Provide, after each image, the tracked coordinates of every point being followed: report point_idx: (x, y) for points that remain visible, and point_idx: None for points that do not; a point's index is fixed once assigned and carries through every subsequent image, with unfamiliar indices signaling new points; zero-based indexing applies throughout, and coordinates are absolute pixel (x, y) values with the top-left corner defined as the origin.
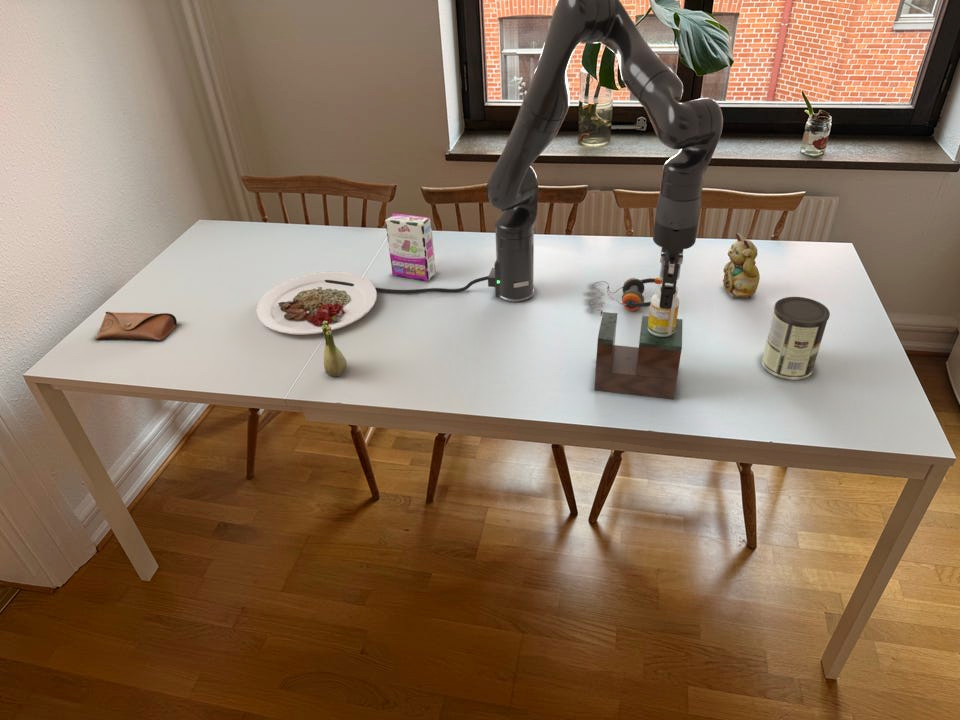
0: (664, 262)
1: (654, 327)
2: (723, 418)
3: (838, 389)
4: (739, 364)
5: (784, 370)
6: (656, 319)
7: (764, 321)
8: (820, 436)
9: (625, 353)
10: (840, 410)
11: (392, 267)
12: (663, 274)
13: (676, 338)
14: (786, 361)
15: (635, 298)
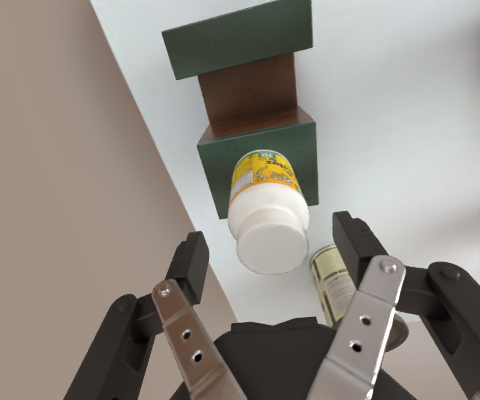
0: (288, 340)
1: (233, 176)
2: (218, 221)
3: (305, 295)
4: (329, 224)
5: (313, 269)
6: (231, 189)
7: (437, 238)
8: (230, 286)
9: (269, 84)
10: (273, 296)
11: None
12: (79, 394)
13: None
14: (316, 279)
15: None
